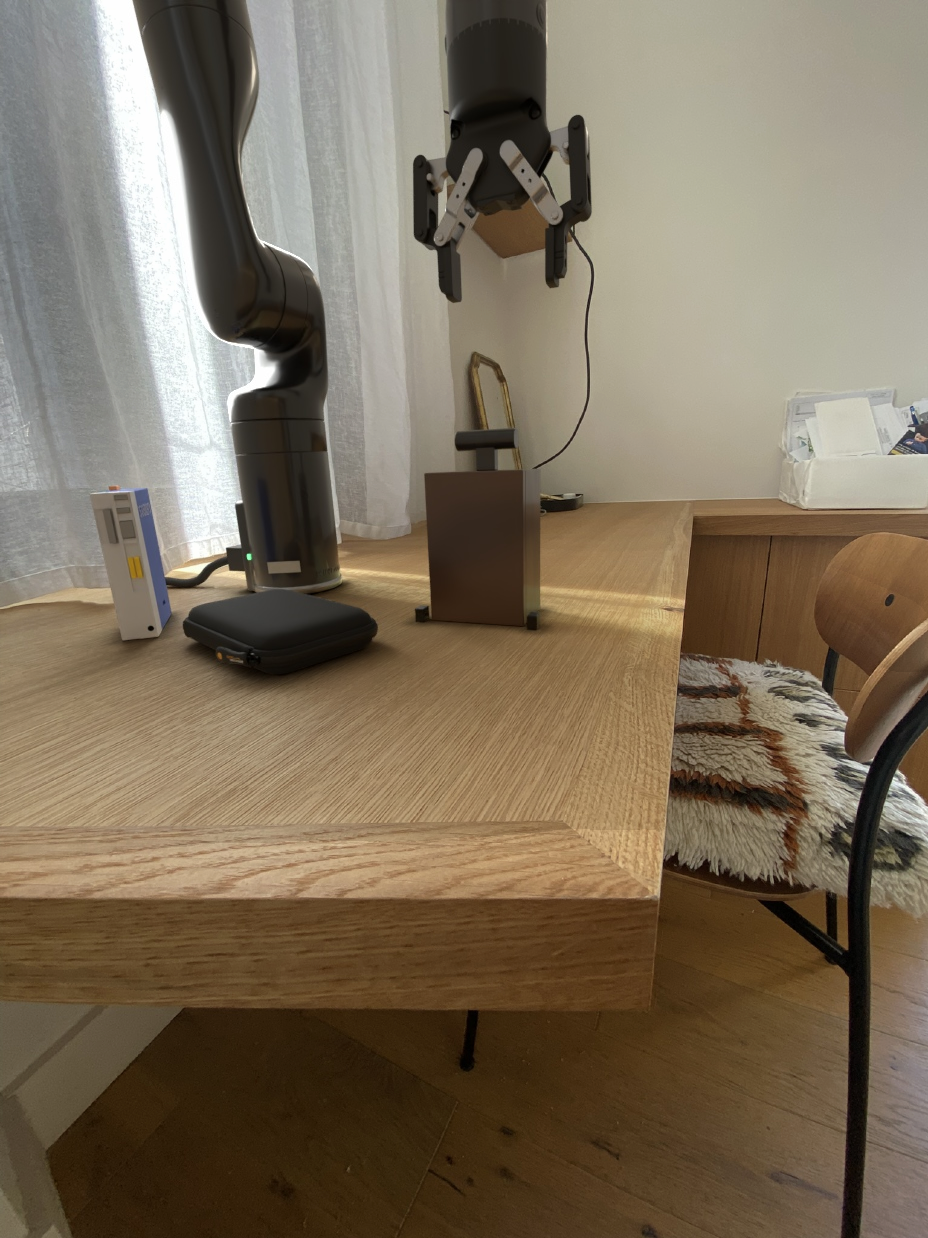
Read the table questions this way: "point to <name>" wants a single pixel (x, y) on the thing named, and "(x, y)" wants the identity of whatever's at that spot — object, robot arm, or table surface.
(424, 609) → the dark bar
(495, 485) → the brown box with handle
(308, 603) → the carrying case
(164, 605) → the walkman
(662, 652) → the table surface
